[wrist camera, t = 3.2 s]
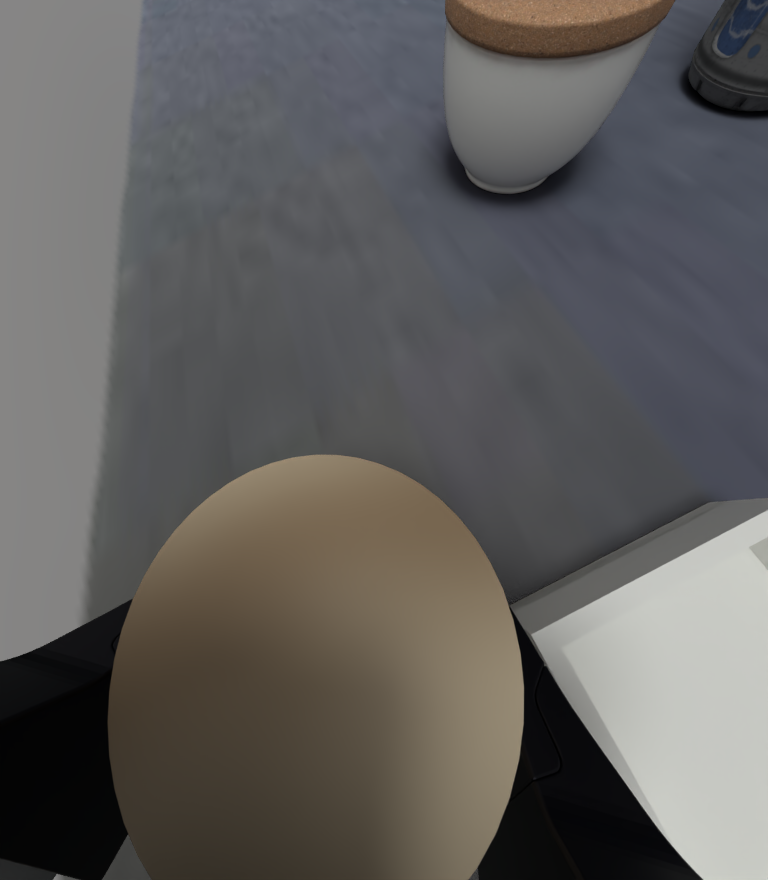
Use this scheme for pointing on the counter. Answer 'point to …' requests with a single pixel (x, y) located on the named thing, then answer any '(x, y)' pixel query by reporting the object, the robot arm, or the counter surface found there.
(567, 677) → the tray
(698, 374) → the counter surface
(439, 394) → the counter surface
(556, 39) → the lidded bowl
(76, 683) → the robot arm
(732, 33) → the beverage bottle
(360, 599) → the canister
